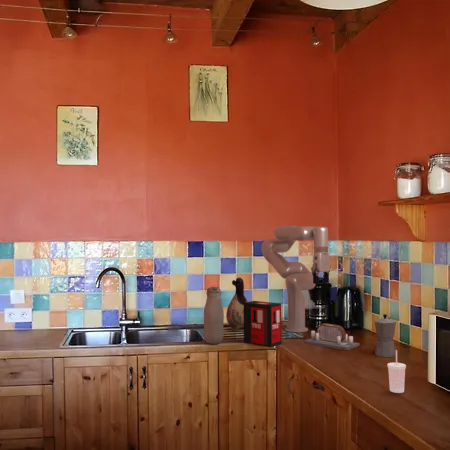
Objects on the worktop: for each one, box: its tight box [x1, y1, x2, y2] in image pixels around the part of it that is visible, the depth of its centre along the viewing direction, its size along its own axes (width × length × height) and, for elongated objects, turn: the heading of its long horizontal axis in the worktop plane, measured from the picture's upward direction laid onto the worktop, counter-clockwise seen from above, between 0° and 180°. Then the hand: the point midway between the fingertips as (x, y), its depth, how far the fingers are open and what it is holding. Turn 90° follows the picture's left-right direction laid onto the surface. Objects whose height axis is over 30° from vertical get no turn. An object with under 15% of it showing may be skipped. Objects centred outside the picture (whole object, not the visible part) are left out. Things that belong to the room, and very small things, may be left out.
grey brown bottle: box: [203, 286, 225, 345], centre depth 254 cm, size 10×10×28 cm
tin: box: [316, 322, 347, 343], centre depth 250 cm, size 15×3×8 cm, turn 47°
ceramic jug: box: [225, 277, 249, 333], centre depth 288 cm, size 17×15×30 cm
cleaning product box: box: [243, 300, 283, 348], centre depth 254 cm, size 16×9×20 cm, turn 51°
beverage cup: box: [387, 349, 407, 394], centre depth 177 cm, size 6×6×14 cm
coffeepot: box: [374, 314, 397, 358], centre depth 229 cm, size 15×9×18 cm, turn 150°
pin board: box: [304, 330, 360, 351], centre depth 250 cm, size 24×12×5 cm, turn 47°
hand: (321, 282), depth 268 cm, fingers open, 9 cm apart
